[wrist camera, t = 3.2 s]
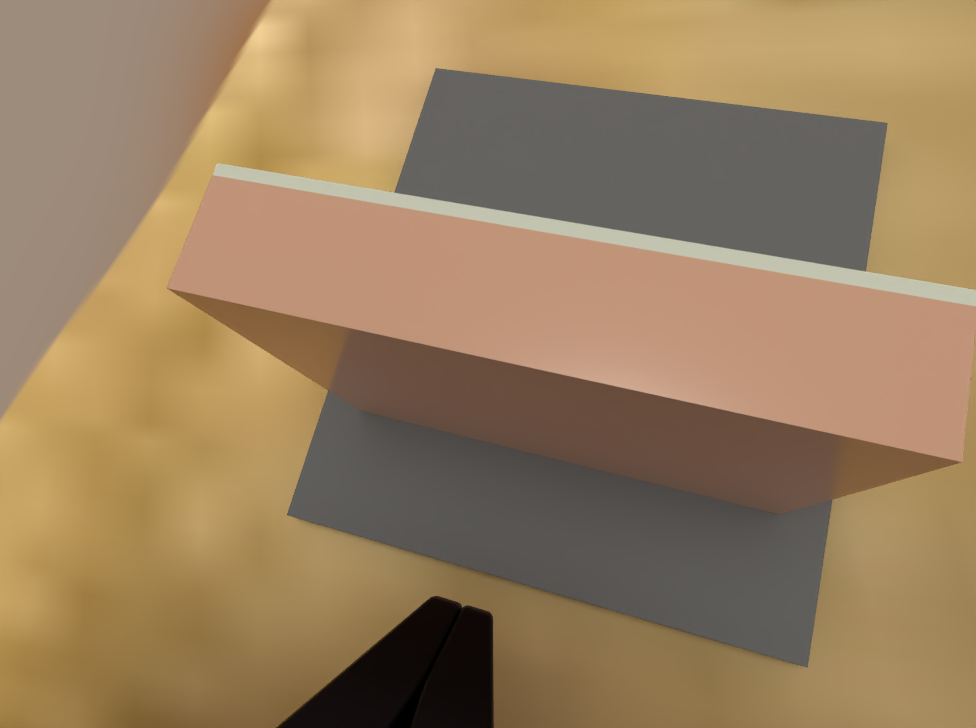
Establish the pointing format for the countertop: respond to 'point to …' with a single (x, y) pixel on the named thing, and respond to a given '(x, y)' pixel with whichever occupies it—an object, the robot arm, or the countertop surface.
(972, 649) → the countertop surface
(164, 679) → the countertop surface
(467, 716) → the robot arm
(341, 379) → the tile
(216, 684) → the countertop surface
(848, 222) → the mat
